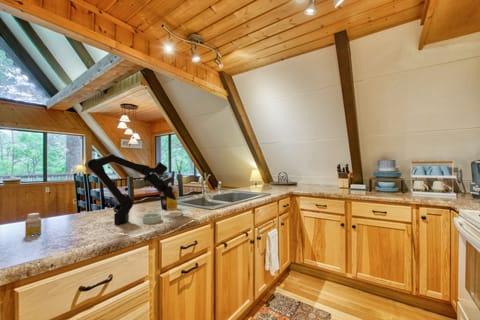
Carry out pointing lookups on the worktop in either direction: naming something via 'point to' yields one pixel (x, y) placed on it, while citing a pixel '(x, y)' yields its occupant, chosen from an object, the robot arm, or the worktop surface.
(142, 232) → the worktop surface
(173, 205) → the yellow bottle
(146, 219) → the bowl
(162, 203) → the coffee mug
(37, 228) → the supplement bottle
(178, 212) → the trivet
